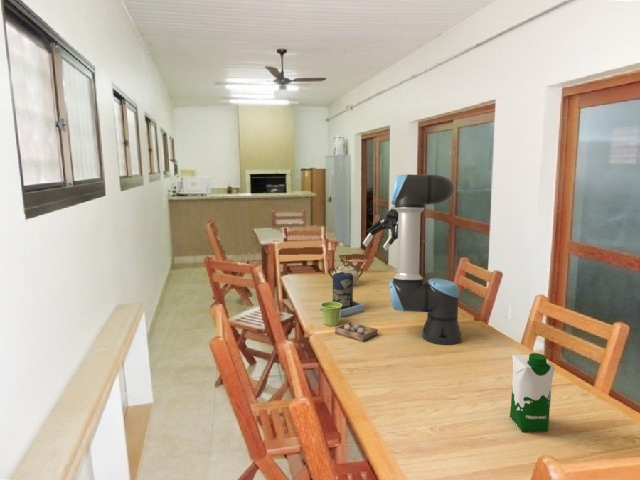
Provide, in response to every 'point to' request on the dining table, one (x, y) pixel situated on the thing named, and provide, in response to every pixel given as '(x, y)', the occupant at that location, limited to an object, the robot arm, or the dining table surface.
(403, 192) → the robot arm
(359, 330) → the pebble tray
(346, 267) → the sugar bowl
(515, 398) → the milk carton
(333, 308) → the plant pot
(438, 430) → the dining table surface
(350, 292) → the canister
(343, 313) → the slate dish
